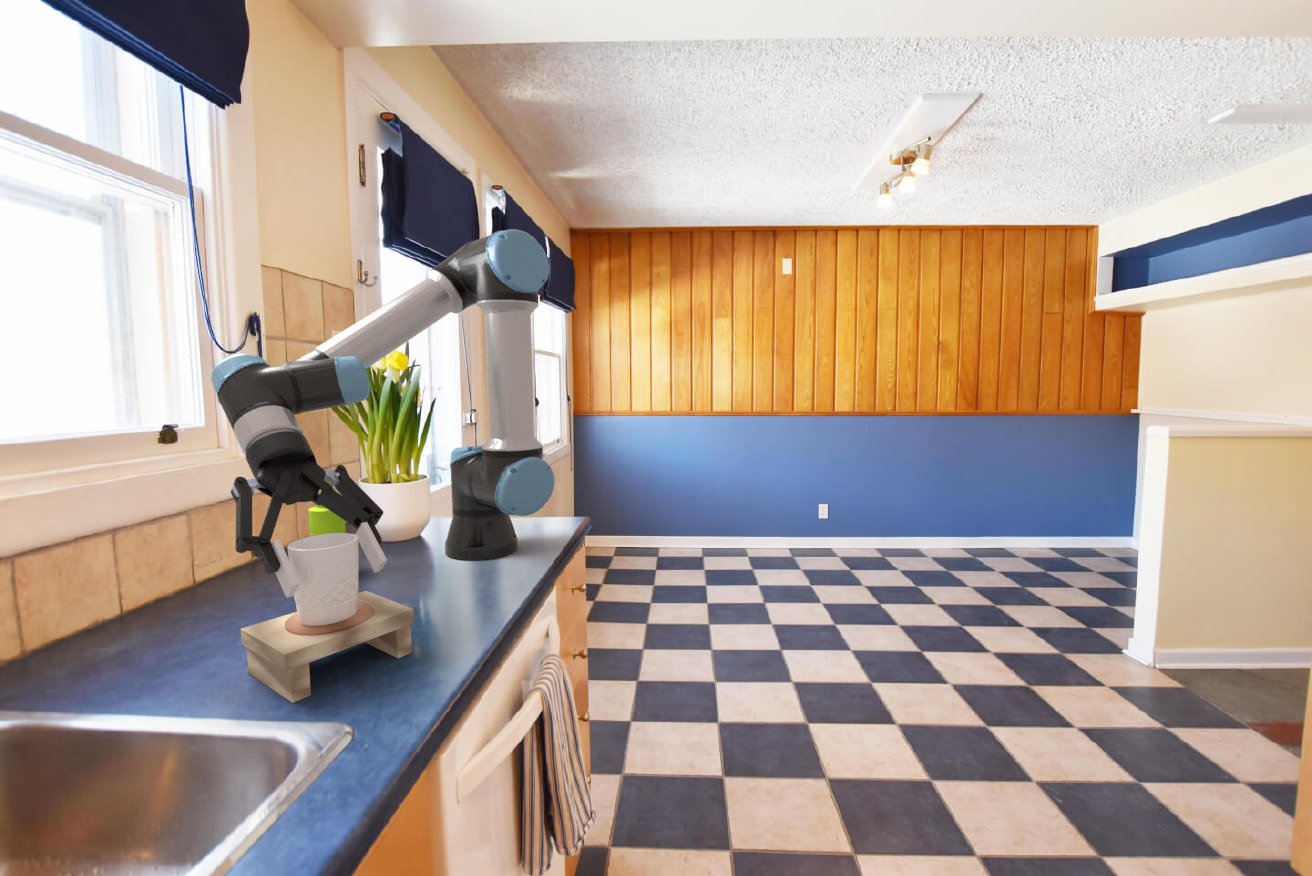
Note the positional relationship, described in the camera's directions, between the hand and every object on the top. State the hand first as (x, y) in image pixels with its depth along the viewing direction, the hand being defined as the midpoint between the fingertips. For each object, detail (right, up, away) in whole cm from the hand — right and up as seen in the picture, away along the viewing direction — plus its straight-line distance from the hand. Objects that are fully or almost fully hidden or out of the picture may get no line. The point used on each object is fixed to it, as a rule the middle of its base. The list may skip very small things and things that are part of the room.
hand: (339, 578), depth 73 cm
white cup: (-3, -6, +2) cm, 7 cm away
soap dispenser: (-22, -9, +37) cm, 43 cm away
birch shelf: (-2, -12, +3) cm, 12 cm away
